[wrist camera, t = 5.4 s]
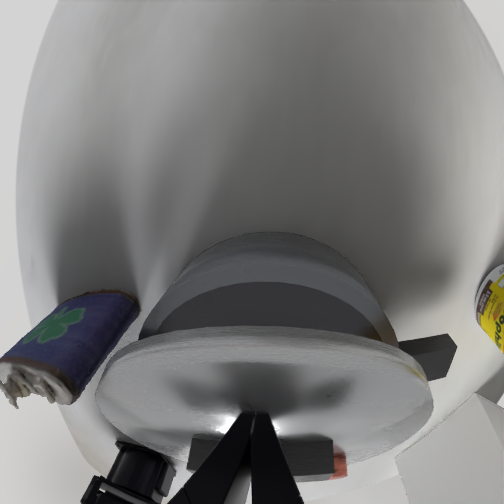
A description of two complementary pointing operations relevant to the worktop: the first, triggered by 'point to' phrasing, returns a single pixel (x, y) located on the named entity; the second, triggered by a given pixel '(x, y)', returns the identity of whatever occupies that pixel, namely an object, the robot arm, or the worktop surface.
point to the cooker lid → (267, 393)
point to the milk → (458, 458)
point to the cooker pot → (284, 295)
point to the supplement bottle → (492, 306)
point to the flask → (67, 347)
